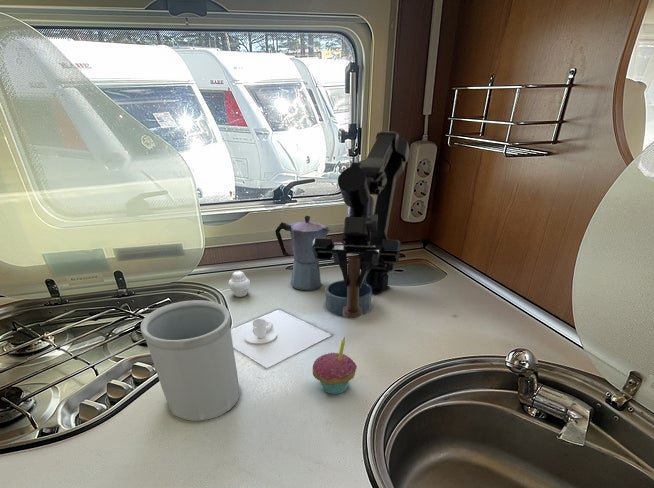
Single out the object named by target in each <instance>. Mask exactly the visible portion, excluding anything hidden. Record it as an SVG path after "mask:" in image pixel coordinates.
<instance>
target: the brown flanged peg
mask: <svg viewBox="0 0 654 488" xmlns="http://www.w3.org/2000/svg"><path fill="white" fill-rule="evenodd" d="M360 261H361V258H360V257H359V255H350V256H348V257H347V267H348V285H347V306H345V307H344V308H343V315H344V316H343V317H345V318H347V319H357V318H361V317H362V316H363V314H362V308H361V307H360V306H358V305H359V277H360V273H361V269H360Z"/></svg>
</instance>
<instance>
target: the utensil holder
mask: <svg viewBox="0 0 654 488" xmlns="http://www.w3.org/2000/svg"><path fill="white" fill-rule="evenodd" d="M231 319H232V318H231V314H230V310H229V309H228V308H227V307H226V306H225V305H223V304H220V303H219V302H215V301H211V300H204V299H202V300H201V299H194V300H192V299H191V300H183V301H177V302H172V303H169V304H166V305H163V306H161V307H158V308H156V309H155V310H152V311H151V312H150V313H148V314H147V315H146V316H145V317H144V318H143V319H142V320H141V323H140V332H141V335H142V338H143V339H144V340H145V342H146V345H147V348H148V351H149V354H150V357H151V360H152V363H153V366H154V368H155V372H156V375H157V378H158V380H159V384H160V387H161V389H162V393H163V395H164V397H165V401H166V404H167V406H168V408H169V410H170V411H171V413H172V414H173V415H174V416H176V417H178V418H179V419H182V420H186V421H194V422H197V421H198V422H199V421H200V422H201V421H206V420H211V419H215V418H217V417H220V416H222V415H224V414H226V413H227V412H228V411H230V410H231V409H233V408H234V406H235V405H236V404H237V403H238V401H239V399H240V383H239V377H238V376H239V374H238V370H237V363H236V357H235V351H234V349H235V348H233V342H232V336H231V321H232V320H231Z"/></svg>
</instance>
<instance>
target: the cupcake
mask: <svg viewBox="0 0 654 488" xmlns="http://www.w3.org/2000/svg"><path fill="white" fill-rule="evenodd" d="M345 339H346V336H344V337H343V338H342V339H341V343H340V347H339V352H328V353H324V354H323V355H320V356H318V357H317V358H316V359H315V360H314V361H313V364H312V376H313V377H314V379H316V380H317V381H319V382H320V384H321V386H322V389H323V391H325V392H326V393H328V394H332V395H333V394H334V395H337V394H341V393H343V392H345V390H346V389H347V388H348V385H349V382H350V381H352V380H353V379H354V378H355V375H356V372H357V371H356V370H357V367H358V366H357V364H356V362H354V360H353V359H352V358H351V357H349V356H348V355H346V354H344V349H345V343H346V340H345Z"/></svg>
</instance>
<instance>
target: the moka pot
mask: <svg viewBox="0 0 654 488" xmlns="http://www.w3.org/2000/svg"><path fill="white" fill-rule="evenodd" d="M281 230H284V231H286V232H290V238H291V247H292V252H287V250H286V247H285V245H284V241H283V238H282V235H281V234H282V233H281ZM330 231H331V229H330V227H328V226H326V225H323V224H322V223H321V222H316V221H311V216H310V215H304V221H296V222H294V223H292V222H291V223H290V222H287V223H286V222H283V221H282V222H280V223H279V225H278V226H277V228H276V229H275V230H274V232H275V236H276V239H277V241H278V244H279V247H280V250H281V253H282V256H284V257H291V256H292V253H293V264H292V272H291V277H290V286H291V287H293V288H294V289H298V290H300V291H314V290H317V289H319V288H320V287H321V284H322V283H321V282H322V281H321V271H320V269H321V268H320V260H317V259H315V256H314V253H313V249H312V243H313V240H314V239H315V238H316V237H327V235H329V234H328V233H329V232H330Z"/></svg>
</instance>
